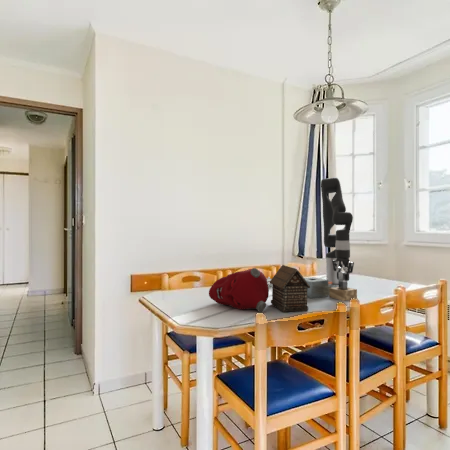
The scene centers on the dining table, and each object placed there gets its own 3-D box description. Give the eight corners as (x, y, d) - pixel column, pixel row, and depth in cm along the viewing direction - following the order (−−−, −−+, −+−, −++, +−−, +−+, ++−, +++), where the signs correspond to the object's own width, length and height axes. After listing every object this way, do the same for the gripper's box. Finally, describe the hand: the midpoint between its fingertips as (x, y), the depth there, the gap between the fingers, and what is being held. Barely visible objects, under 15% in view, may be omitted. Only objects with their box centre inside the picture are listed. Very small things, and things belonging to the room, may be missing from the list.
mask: (199, 276, 170) (245, 269, 151) (232, 269, 190) (277, 263, 171) (205, 316, 168) (253, 315, 149) (238, 305, 188) (284, 303, 169)
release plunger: (327, 290, 200) (327, 280, 200) (332, 291, 196) (332, 281, 196) (322, 291, 198) (322, 281, 198) (327, 292, 195) (327, 282, 195)
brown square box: (343, 295, 192) (343, 286, 192) (357, 298, 183) (356, 289, 183) (329, 297, 188) (329, 288, 188) (343, 300, 179) (342, 291, 179)
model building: (311, 311, 159) (310, 268, 159) (282, 313, 156) (281, 269, 156) (295, 302, 176) (295, 263, 176) (269, 304, 174) (268, 264, 173)
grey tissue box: (325, 290, 204) (325, 275, 204) (339, 294, 193) (339, 278, 193) (297, 294, 195) (297, 278, 195) (311, 298, 185) (311, 281, 185)
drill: (343, 296, 187) (342, 271, 187) (347, 298, 185) (347, 272, 184) (338, 297, 186) (338, 272, 186) (342, 298, 183) (342, 272, 183)
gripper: (358, 249, 180) (358, 281, 180) (338, 247, 193) (338, 277, 193) (347, 250, 177) (347, 282, 177) (328, 248, 190) (328, 278, 190)
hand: (342, 279), depth 185 cm, fingers open, 5 cm apart
